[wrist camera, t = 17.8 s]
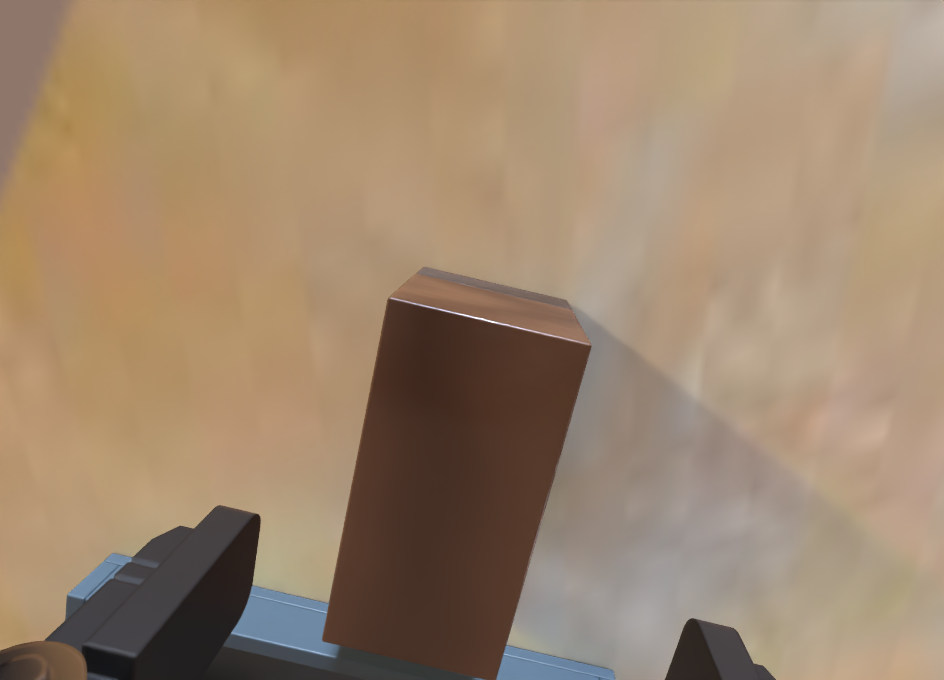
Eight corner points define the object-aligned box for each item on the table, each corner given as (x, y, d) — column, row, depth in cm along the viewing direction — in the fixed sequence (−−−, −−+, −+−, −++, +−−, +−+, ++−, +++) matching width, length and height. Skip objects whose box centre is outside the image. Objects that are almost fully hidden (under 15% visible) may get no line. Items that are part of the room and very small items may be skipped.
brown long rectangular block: (567, 300, 18) (592, 344, 13) (498, 555, 20) (495, 683, 15) (422, 266, 18) (387, 296, 13) (369, 524, 20) (321, 642, 15)
